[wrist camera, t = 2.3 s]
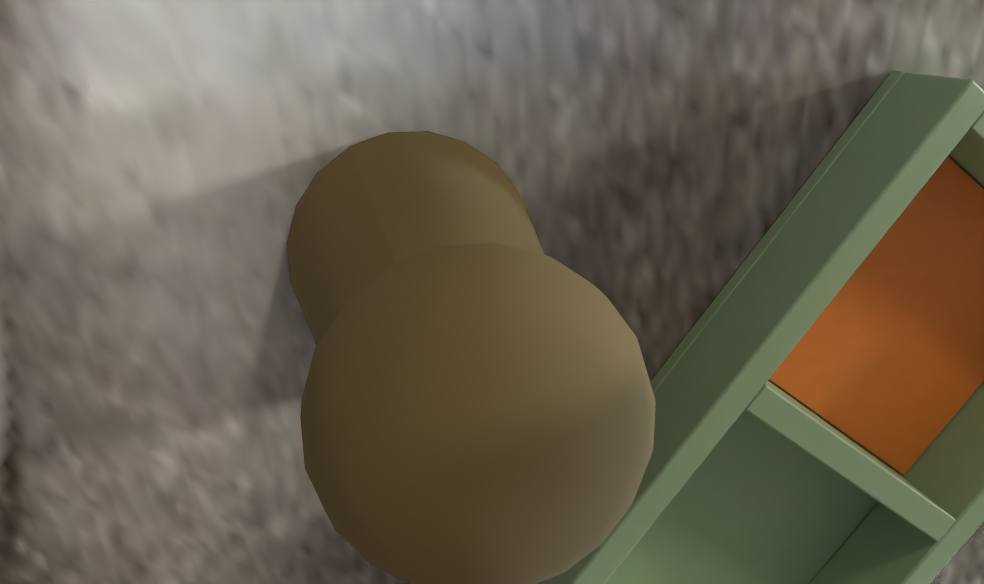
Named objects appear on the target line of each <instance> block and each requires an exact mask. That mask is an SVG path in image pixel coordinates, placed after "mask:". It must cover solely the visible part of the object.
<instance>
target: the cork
mask: <svg viewBox="0 0 984 584" xmlns="http://www.w3.org/2000/svg"><path fill="white" fill-rule="evenodd" d="M287 248H288V260H289V272H290V281H291V284H292V286H293V289H294V291H295V294H296V296H297V298H298V301H299V303H300V306H301V308H302V311H303V313H304V316H305V318H306V321H307V323H308V326H309V328H310V331H311V333H312V335H313V338H314V340H315V343H316V345H317V346H316V348H315V351H314V355H313V359H312V362H311V366H310V370H309V373H308V377H307V381H306V385H305V388H304V392H303V396H302V401H301V428H302V440H303V451H304V463H305V469H306V472H307V474H308V476H309V478H310V480H311V482H312V484H313V486H314V488H315V490H316V493H317V495H318V497H319V499H320V501H321V503H322V505H323V507H324V509H325V511H326V513H327V515H328V517H329V519H330V521H331V523H332V525H333V526H334V528H335V530H336V531H337V532H338V533H339V534H340V535H341V536H342V537H343V538H344V539H345V540H346V541H347V542H348V543H349V544H350V545H351V546H352V547H353V548H354V549H355V550H356V551H357V552H358V553H360V554H361V555H362V556H363V557H364V558H365V559H366V560H367V561H368V562H369V563H370V564H371V565H373V566H375V567H377V568H379V569H381V570H383V571H386V572H388V573H390V574H392V575H394V576H396V577H398V578H400V579H402V580H405V581H407V582H409V583H411V584H538V583H540V582H543V581H545V580H547V579H550V578H552V577H555V576H557V575H559V574H562V573H564V572H566V571H567V570H568V569H570V568H571V567H572V566H574V565H575V564H576V563H578V562H579V561H580V560H582V559H583V558H584V557H585V556H587V555H588V554H589V553H591V552H592V551H593V550H595V549H596V548H597V547H599V546H600V545H601V544H603V542H604V541H605V540H606V538H607V537H608V536H609V534H610V533H611V532H612V530H613V529H614V528H615V527H616V525H617V524H618V523H619V521H620V520H621V519H622V517H623V516H624V515H625V513H626V512H627V511H628V509H629V508H630V507H631V505H632V503H633V500H634V498H635V496H636V493H637V491H638V488H639V485H640V483H641V480H642V478H643V475H644V472H645V470H646V467H647V464H648V462H649V459H650V457H651V454H652V451H653V444H654V423H655V403H656V401H655V397H654V394H653V390H652V387H651V383H650V380H649V377H648V373H647V370H646V367H645V363H644V360H643V356H642V353H641V350H640V346H639V343H638V340H637V337H636V335H635V334H634V333H633V331H632V330H631V329H630V327H629V326H628V325H627V323H626V322H625V321H624V319H623V318H622V317H621V315H620V314H619V313H618V311H617V310H616V309H615V307H614V306H613V305H612V303H611V302H610V300H609V299H608V298H607V297H606V296H605V295H604V294H603V293H602V292H601V291H600V290H599V289H598V288H597V287H596V286H595V285H593V284H592V283H590V282H589V281H587V280H586V279H584V278H583V277H581V276H580V275H578V274H577V273H575V272H574V271H572V270H571V269H569V268H568V267H566V266H564V265H563V264H561V263H560V262H558V261H557V260H555V259H554V258H552V257H550V256H546V255H544V253H543V250H542V248H541V245H540V243H539V240H538V238H537V235H536V233H535V231H534V228H533V226H532V223H531V221H530V218H529V216H528V213H527V211H526V208H525V206H524V203H523V201H522V199H521V196H520V194H519V192H518V191H517V190H516V188H515V187H514V186H513V184H512V183H511V182H510V180H509V179H508V178H507V176H506V175H505V174H504V172H503V171H502V170H501V168H500V167H499V166H498V164H497V163H495V162H494V161H492V160H491V159H489V158H488V157H486V156H485V155H484V154H482V153H481V152H479V151H478V150H476V149H475V148H473V147H472V146H470V145H469V144H468V143H466V142H463V141H460V140H456V139H453V138H450V137H446V136H443V135H439V134H436V133H432V132H429V131H421V132H394V133H386V134H383V135H380V136H378V137H375V138H372V139H369V140H367V141H364V142H361V143H359V144H356V145H353V146H350V147H349V148H348V149H346V150H345V151H344V152H343V153H341V154H340V155H339V156H337V157H336V158H335V159H334V160H332V161H331V162H330V163H329V164H327V165H326V166H325V167H324V168H322V169H321V170H320V171H319V172H318V173H317V174H316V176H315V178H314V179H313V181H312V182H311V184H310V185H309V187H308V188H307V190H306V191H305V193H304V194H303V196H302V198H301V199H300V201H299V202H298V204H297V205H296V209H295V213H294V217H293V221H292V225H291V229H290V233H289V237H288V241H287Z"/></svg>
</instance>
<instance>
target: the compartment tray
mask: <svg viewBox="0 0 984 584" xmlns="http://www.w3.org/2000/svg"><path fill="white" fill-rule="evenodd" d="M650 383H651V387H652V390H653V394H654V397H655V401H656V403H655V423H654V444H653V451H652V454H651V457H650V459H649V462H648V464H647V467H646V470H645V472H644V475H643V478H642V480H641V483H640V485H639V488H638V491H637V493H636V496H635V498H634V500H633V503H632V505H631V507H630V508H629V509H628V511H627V512H626V513H625V515H624V516H623V517H622V519H621V520H620V521H619V523H618V524H617V525H616V527H615V528H614V529H613V530H612V532H611V533H610V534H609V536H608V537H607V538H606V540H605V541H604V542H603V544H601V545H600V546H599V547H597V548H596V549H595V550H593V551H592V552H591V553H589V554H588V555H587V556H585V557H584V558H583V559H582V560H580V561H579V562H578V563H576V564H575V565H574V566H572V567H571V568H570V569H568V570H567V571H566V572H564V573H562V574H559V575H557V576H555V577H552V578H550V579H547V580H545V581H543V582H540V583H538V584H930V583H931V581H932V580H933V579H934V578H935V577H936V576H937V574H938V573H939V572H940V571H941V570H942V569H943V568H944V566H945V565H946V564H947V563H948V562H949V561H950V560H951V558H952V557H953V556H954V555H955V554H956V553H957V551H958V550H959V549H960V548H961V547H962V546H963V545H964V543H965V542H966V541H967V540H968V539H969V538H970V536H971V535H972V534H973V533H974V532H975V531H976V530H977V528H978V527H979V526H980V525H981V524H982V523H983V522H984V91H983V90H982V89H981V88H980V87H979V86H978V85H977V84H976V83H975V82H974V81H973V80H969V79H960V78H951V77H942V76H934V75H925V74H916V73H907V72H906V73H905V72H902V71H892V72H891V73H890V74H889V76H888V77H887V78H886V80H885V81H884V82H883V83H882V85H881V86H880V87H879V89H878V90H877V91H876V92H875V94H874V95H873V96H872V98H871V99H870V100H869V101H868V103H867V104H866V105H865V106H864V108H863V109H862V110H861V112H860V113H859V114H858V115H857V117H856V118H855V119H854V121H853V122H852V123H851V124H850V126H849V127H848V128H847V130H846V131H845V132H844V133H843V135H842V136H841V137H840V139H839V140H838V141H837V142H836V144H835V145H834V146H833V148H832V149H831V150H830V151H829V153H828V154H827V155H826V157H825V158H824V159H823V160H822V162H821V163H820V164H819V166H818V167H817V168H816V169H815V171H814V172H813V173H812V175H811V176H810V177H809V178H808V180H807V181H806V182H805V184H804V185H803V186H802V187H801V189H800V190H799V191H798V193H797V194H796V195H795V196H794V198H793V199H792V200H791V202H790V203H789V204H788V205H787V207H786V208H785V209H784V211H783V212H782V213H781V214H780V216H779V217H778V218H777V220H776V221H775V222H774V223H773V225H772V226H771V227H770V229H769V230H768V231H767V232H766V234H765V235H764V236H763V238H762V239H761V240H760V241H759V243H758V244H757V245H756V247H755V248H754V249H753V250H752V252H751V253H750V254H749V256H748V257H747V258H746V259H745V261H744V262H743V263H742V265H741V266H740V267H739V268H738V270H737V271H736V272H735V273H734V275H733V276H732V277H731V279H730V280H729V281H728V282H727V284H726V285H725V286H724V288H723V289H722V290H721V291H720V293H719V294H718V295H717V297H716V298H715V299H714V300H713V302H712V303H711V304H710V306H709V307H708V308H707V309H706V311H705V312H704V313H703V315H702V316H701V317H700V318H699V320H698V321H697V322H696V324H695V325H694V326H693V327H692V329H691V330H690V331H689V333H688V334H687V335H686V336H685V338H684V339H683V340H682V342H681V343H680V344H679V345H678V347H677V348H676V349H675V351H674V352H673V353H672V354H671V356H670V357H669V358H668V360H667V361H666V362H665V363H664V365H663V366H662V367H661V369H660V370H659V371H658V372H657V374H656V375H655V376H654V378H653V379H652V380H651V381H650Z"/></svg>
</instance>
